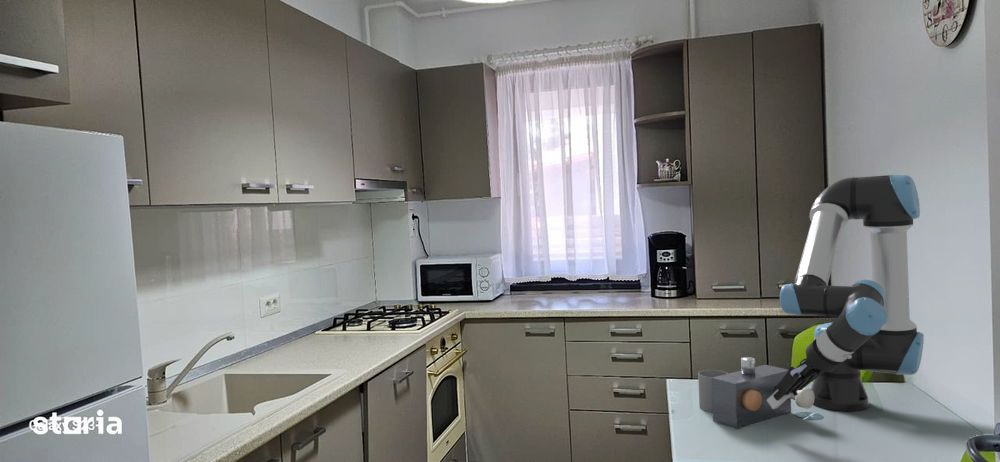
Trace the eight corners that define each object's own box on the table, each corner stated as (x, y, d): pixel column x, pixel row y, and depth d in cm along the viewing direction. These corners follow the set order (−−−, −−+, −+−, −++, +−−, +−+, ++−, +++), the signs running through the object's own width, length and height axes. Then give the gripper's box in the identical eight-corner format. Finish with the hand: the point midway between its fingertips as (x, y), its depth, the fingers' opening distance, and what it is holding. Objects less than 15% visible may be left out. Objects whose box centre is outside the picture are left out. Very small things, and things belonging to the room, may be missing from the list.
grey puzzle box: (791, 412, 181) (789, 370, 181) (736, 429, 170) (735, 383, 170) (766, 405, 188) (765, 364, 188) (713, 421, 177) (711, 377, 177)
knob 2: (814, 406, 172) (814, 387, 172) (802, 410, 170) (801, 390, 169) (782, 398, 181) (782, 379, 180) (770, 401, 178) (769, 382, 178)
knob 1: (762, 408, 172) (761, 389, 172) (748, 412, 170) (748, 393, 170) (732, 400, 181) (731, 381, 181) (719, 403, 178) (718, 384, 178)
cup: (731, 412, 184) (730, 377, 184) (701, 412, 186) (699, 377, 185) (727, 403, 192) (726, 369, 192) (698, 403, 194) (697, 369, 193)
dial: (754, 371, 181) (753, 357, 181) (756, 374, 178) (755, 360, 177) (740, 371, 182) (740, 357, 182) (742, 374, 178) (741, 360, 178)
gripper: (822, 367, 146) (763, 422, 161) (858, 359, 152) (797, 412, 167) (800, 340, 150) (745, 396, 165) (836, 333, 156) (779, 387, 172)
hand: (771, 404), depth 166 cm, fingers closed
